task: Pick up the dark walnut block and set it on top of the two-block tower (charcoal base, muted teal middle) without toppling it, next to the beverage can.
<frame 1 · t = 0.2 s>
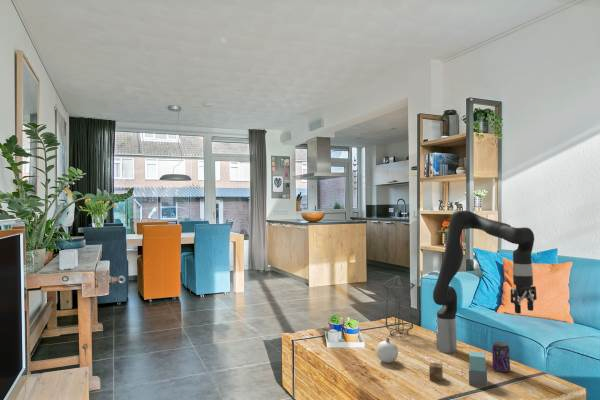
hand: (524, 311, 179), 29 cm above the table, fingers open, 8 cm apart
beverage can: (501, 370, 189), on the table
geometric lantern: (399, 335, 247), on the table
walnut block: (436, 378, 182), on the table
tower mid: (477, 368, 177), point 6 cm above the table, touching tower base
tower base: (478, 382, 177), on the table, touching tower mid
ornament: (387, 362, 204), on the table
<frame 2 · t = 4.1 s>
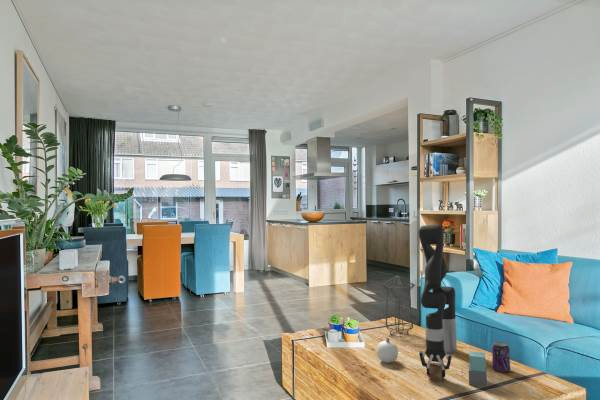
hand: (436, 377, 182), 1 cm above the table, fingers closed on walnut block, 5 cm apart
walnut block: (436, 378, 182), on the table, touching gripper
everything else where it was.
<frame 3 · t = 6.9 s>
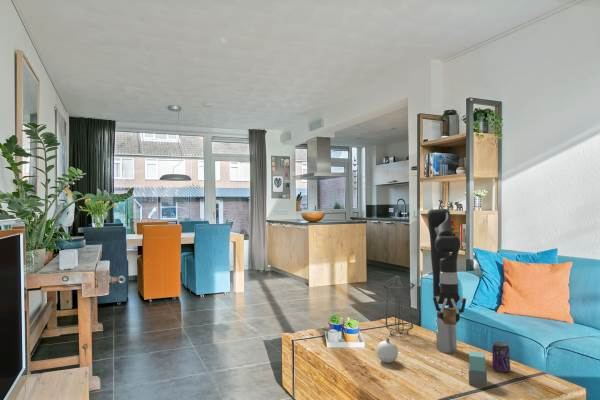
hand: (450, 321, 181), 25 cm above the table, fingers closed on walnut block, 5 cm apart
walnut block: (450, 323, 181), point 25 cm above the table, touching gripper
everything else where it was.
when the fingers open (14 cm above the table, at t = 9.4 s): walnut block drops 1 cm, resting on tower mid.
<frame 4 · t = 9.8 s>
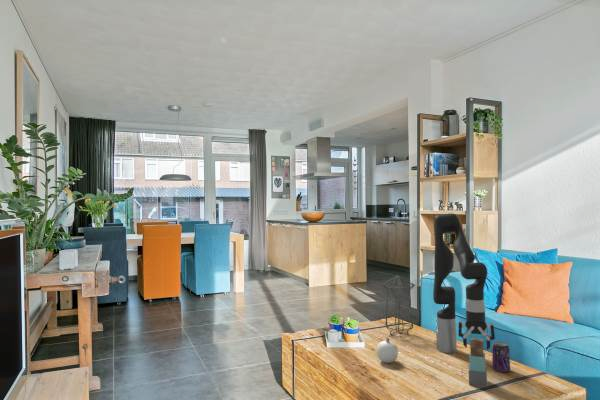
hand: (476, 347, 177), 15 cm above the table, fingers open, 8 cm apart
walnut block: (477, 354, 177), point 12 cm above the table, touching tower mid
tower mid: (477, 368, 177), point 6 cm above the table, touching tower base, walnut block
everything else where it was.
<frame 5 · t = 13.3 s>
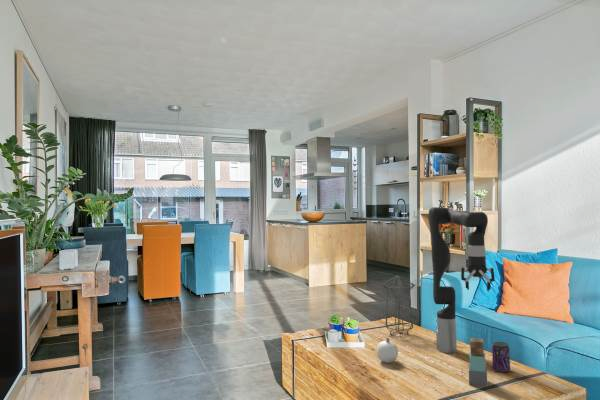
hand: (478, 290, 193), 36 cm above the table, fingers open, 8 cm apart
nothing on the table moved.
at the end: walnut block 0.0 cm off-centre on the tower base, point 12.0 cm above the tower base's base; tower mid 0.1 cm off-centre on the tower base, point 6.0 cm above the tower base's base; tower mid tilted 0° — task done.
